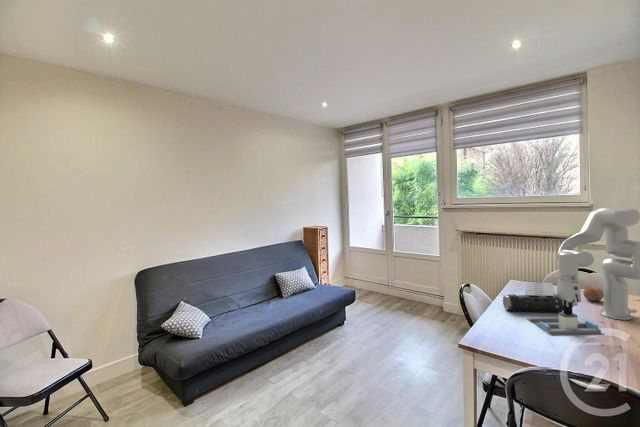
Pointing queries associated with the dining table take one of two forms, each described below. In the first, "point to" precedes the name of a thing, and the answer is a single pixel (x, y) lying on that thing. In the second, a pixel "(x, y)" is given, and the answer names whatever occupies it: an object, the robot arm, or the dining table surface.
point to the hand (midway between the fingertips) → (567, 313)
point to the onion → (593, 294)
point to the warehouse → (540, 289)
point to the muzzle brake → (532, 303)
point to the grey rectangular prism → (567, 321)
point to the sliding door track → (553, 329)
